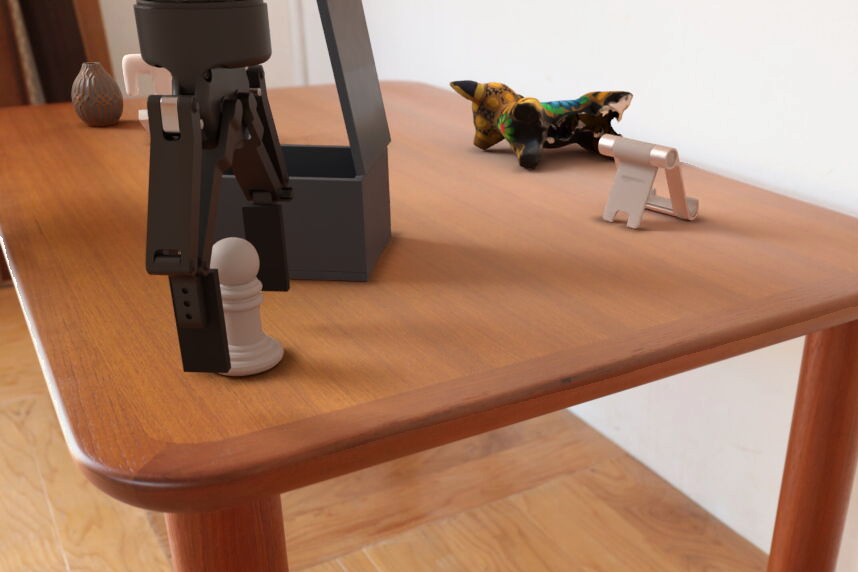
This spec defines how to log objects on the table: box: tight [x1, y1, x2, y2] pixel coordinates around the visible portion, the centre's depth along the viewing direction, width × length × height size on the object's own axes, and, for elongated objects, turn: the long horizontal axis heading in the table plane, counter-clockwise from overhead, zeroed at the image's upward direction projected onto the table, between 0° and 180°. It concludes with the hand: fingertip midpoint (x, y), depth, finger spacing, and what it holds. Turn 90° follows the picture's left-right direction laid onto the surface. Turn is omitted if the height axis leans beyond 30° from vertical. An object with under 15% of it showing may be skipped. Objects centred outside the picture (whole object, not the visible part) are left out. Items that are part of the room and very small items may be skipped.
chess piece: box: [210, 237, 285, 377], centre depth 61 cm, size 5×5×9 cm
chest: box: [213, 143, 392, 282], centre depth 81 cm, size 16×13×9 cm
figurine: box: [121, 53, 172, 138], centre depth 122 cm, size 7×9×15 cm
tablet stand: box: [598, 134, 700, 230], centre depth 93 cm, size 9×8×8 cm
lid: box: [315, 0, 392, 176], centre depth 75 cm, size 16×13×9 cm
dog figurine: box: [449, 79, 634, 170], centre depth 119 cm, size 20×12×18 cm
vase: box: [70, 61, 124, 127], centre depth 132 cm, size 7×7×9 cm
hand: (242, 326), depth 61 cm, fingers open, 13 cm apart
